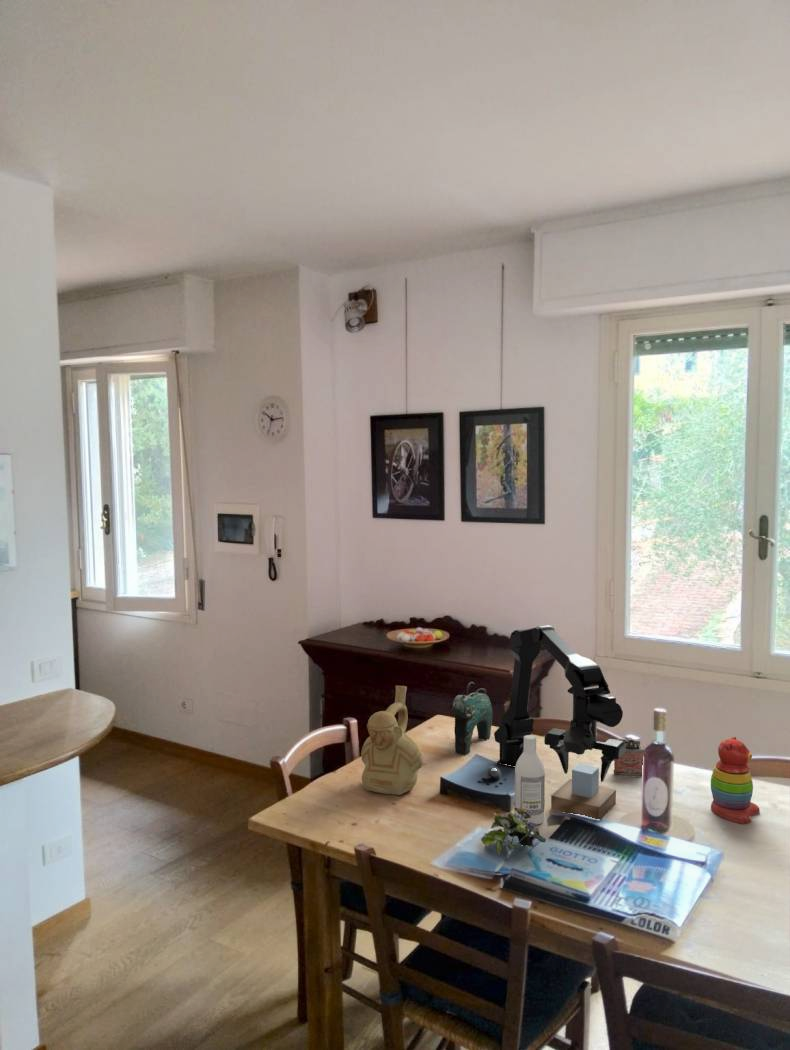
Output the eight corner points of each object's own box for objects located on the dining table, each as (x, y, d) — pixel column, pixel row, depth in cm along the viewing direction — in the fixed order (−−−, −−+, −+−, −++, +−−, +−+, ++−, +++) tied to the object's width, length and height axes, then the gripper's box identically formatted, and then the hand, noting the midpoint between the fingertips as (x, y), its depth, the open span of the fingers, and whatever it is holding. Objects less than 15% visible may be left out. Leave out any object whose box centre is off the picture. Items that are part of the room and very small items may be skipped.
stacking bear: (746, 826, 179) (748, 751, 178) (702, 813, 186) (704, 740, 185) (761, 810, 187) (764, 739, 186) (719, 798, 194) (721, 729, 193)
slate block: (571, 793, 189) (572, 769, 189) (579, 786, 194) (579, 763, 193) (591, 798, 187) (591, 774, 186) (598, 791, 191) (598, 767, 190)
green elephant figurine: (466, 758, 223) (466, 689, 221) (446, 753, 226) (446, 686, 225) (496, 738, 239) (496, 674, 238) (477, 734, 243) (477, 671, 241)
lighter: (642, 772, 211) (643, 736, 211) (645, 777, 208) (646, 741, 207) (612, 771, 212) (612, 735, 211) (614, 776, 209) (615, 740, 208)
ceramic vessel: (346, 795, 197) (346, 699, 195) (377, 768, 215) (376, 679, 213) (409, 806, 191) (408, 706, 189) (435, 777, 209) (435, 686, 207)
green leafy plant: (522, 870, 170) (555, 831, 168) (504, 884, 161) (539, 843, 158) (485, 831, 175) (516, 792, 173) (466, 842, 166) (499, 802, 164)
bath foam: (550, 822, 182) (551, 739, 180) (525, 828, 179) (526, 743, 177) (532, 810, 188) (533, 730, 186) (508, 816, 185) (509, 734, 183)
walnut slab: (551, 811, 189) (551, 795, 188) (569, 794, 199) (569, 779, 198) (599, 823, 182) (599, 807, 182) (615, 805, 192) (616, 789, 192)
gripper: (535, 716, 187) (534, 779, 188) (611, 731, 177) (610, 797, 178) (553, 705, 196) (553, 765, 198) (626, 718, 186) (625, 781, 187)
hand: (583, 777), depth 190 cm, fingers open, 9 cm apart
